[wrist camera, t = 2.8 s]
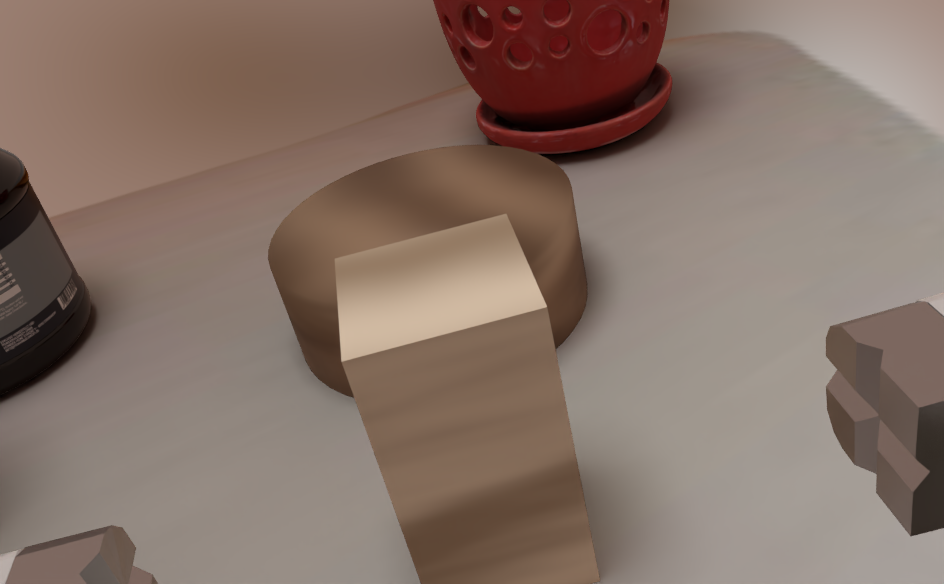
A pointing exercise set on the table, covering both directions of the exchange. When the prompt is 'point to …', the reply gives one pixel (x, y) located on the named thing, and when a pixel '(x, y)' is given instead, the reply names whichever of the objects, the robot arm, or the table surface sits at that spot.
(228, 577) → the table surface
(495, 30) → the plant pot
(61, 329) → the supplement container
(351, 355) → the ash block
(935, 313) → the robot arm
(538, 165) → the walnut plinth
